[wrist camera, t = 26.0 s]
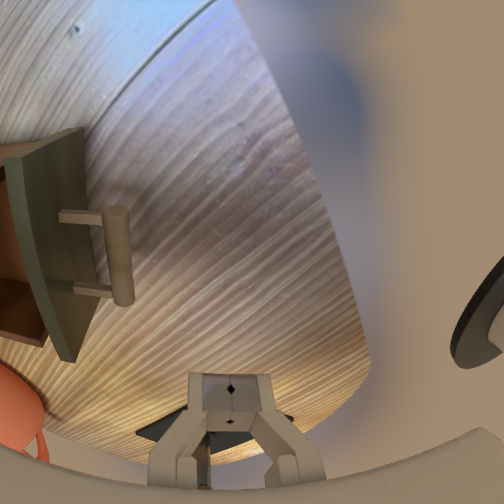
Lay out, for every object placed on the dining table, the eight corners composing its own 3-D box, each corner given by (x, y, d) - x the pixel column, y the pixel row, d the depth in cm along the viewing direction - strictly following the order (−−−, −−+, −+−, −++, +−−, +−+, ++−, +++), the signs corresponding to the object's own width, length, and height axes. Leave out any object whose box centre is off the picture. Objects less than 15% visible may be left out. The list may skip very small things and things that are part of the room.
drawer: (147, 127, 15) (105, 155, 10) (149, 303, 22) (133, 373, 17) (-44, 142, 13) (-100, 174, 7) (-13, 279, 20) (-47, 326, 14)
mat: (215, 388, 31) (215, 392, 30) (293, 417, 37) (294, 420, 36) (135, 431, 38) (135, 434, 37) (205, 453, 44) (205, 456, 43)
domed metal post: (215, 423, 35) (218, 500, 25) (214, 435, 37) (216, 505, 28) (182, 422, 34) (181, 499, 25) (184, 433, 37) (183, 503, 27)
